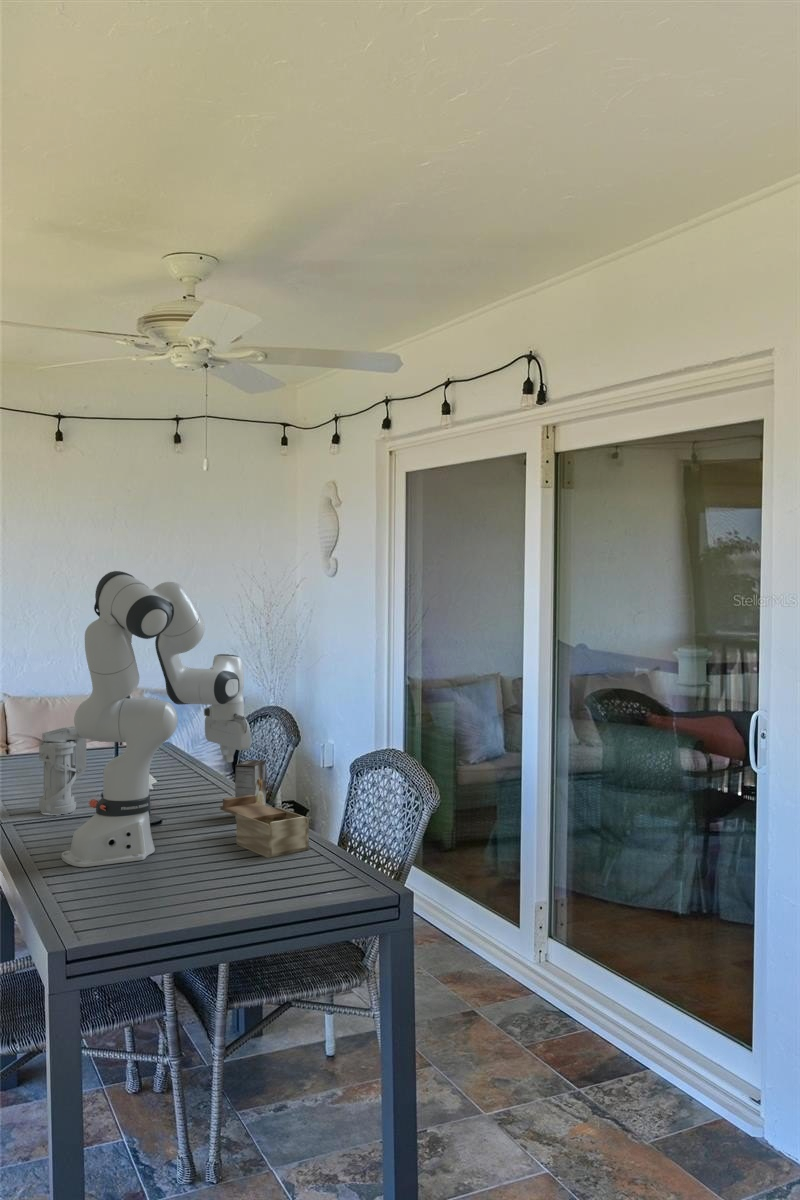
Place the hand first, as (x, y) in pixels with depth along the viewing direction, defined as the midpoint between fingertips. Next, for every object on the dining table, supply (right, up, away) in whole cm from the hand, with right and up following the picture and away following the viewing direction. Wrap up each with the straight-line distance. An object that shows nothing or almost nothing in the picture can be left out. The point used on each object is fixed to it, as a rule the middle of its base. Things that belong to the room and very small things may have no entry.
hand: (227, 761), depth 272 cm
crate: (+15, -19, -19) cm, 31 cm away
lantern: (-53, -18, +19) cm, 59 cm away
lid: (+9, -12, -11) cm, 18 cm away
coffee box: (+4, -19, +14) cm, 24 cm away
